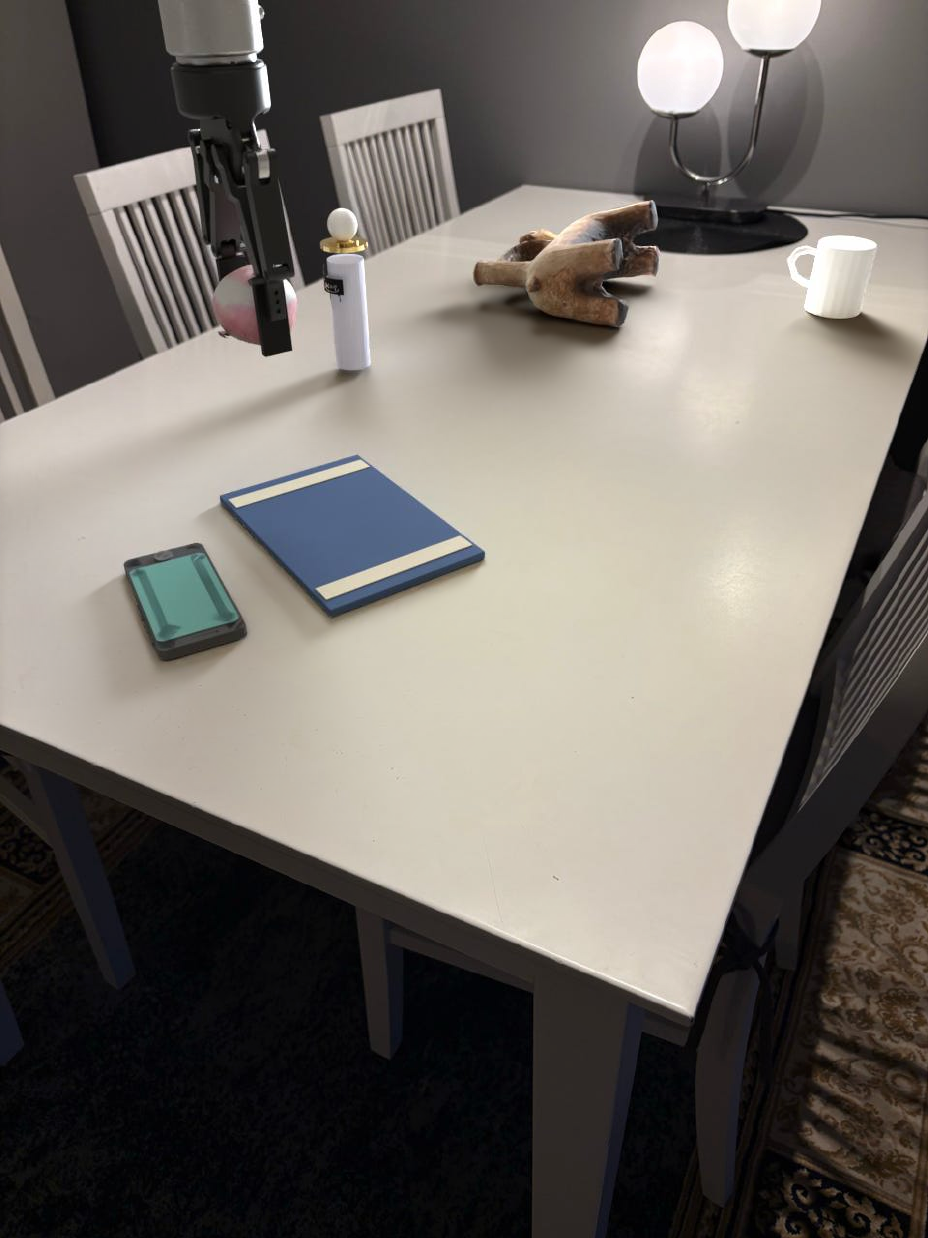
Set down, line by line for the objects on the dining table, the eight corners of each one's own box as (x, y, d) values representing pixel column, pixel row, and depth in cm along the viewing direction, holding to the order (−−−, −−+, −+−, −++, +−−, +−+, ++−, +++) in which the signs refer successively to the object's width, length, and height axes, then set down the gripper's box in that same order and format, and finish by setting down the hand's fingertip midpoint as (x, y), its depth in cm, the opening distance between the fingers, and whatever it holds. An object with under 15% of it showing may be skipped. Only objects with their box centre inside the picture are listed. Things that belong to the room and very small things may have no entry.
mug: (778, 297, 144) (791, 232, 138) (858, 304, 141) (875, 237, 135) (777, 314, 138) (791, 246, 132) (861, 321, 135) (879, 252, 129)
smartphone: (200, 539, 85) (247, 624, 74) (202, 550, 85) (249, 636, 75) (119, 559, 82) (155, 651, 71) (122, 571, 83) (158, 663, 72)
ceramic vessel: (665, 181, 144) (516, 190, 154) (619, 249, 123) (449, 255, 132) (666, 263, 152) (524, 267, 162) (623, 340, 131) (463, 340, 140)
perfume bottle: (358, 357, 124) (346, 200, 112) (384, 369, 121) (374, 208, 109) (323, 368, 121) (307, 207, 109) (348, 381, 118) (334, 216, 106)
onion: (271, 361, 82) (260, 280, 78) (200, 350, 85) (185, 271, 80) (315, 332, 88) (307, 255, 84) (247, 323, 91) (235, 247, 86)
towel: (220, 502, 93) (218, 494, 92) (357, 460, 100) (357, 453, 99) (331, 618, 77) (330, 609, 76) (485, 558, 84) (485, 550, 83)
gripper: (317, 66, 67) (344, 364, 81) (214, 44, 81) (252, 302, 95) (221, 74, 64) (266, 383, 78) (130, 50, 78) (182, 316, 92)
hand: (258, 338), depth 86 cm, fingers closed on onion, 8 cm apart
